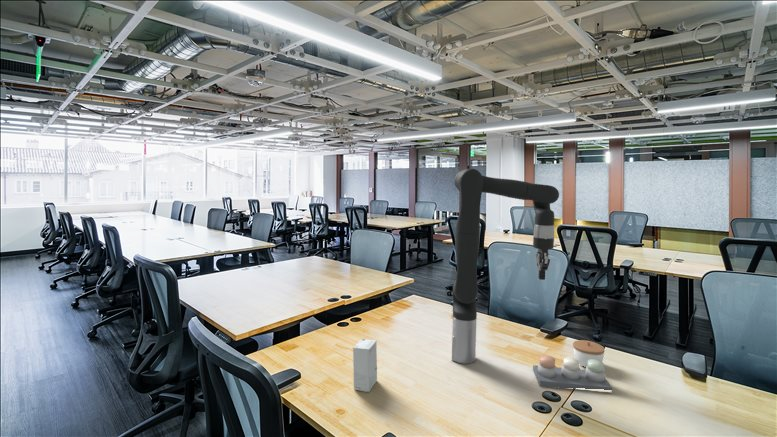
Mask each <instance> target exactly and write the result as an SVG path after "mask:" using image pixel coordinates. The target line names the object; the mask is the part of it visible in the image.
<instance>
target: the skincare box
mask: <svg viewBox="0 0 777 437" xmlns="http://www.w3.org/2000/svg"><path fill="white" fill-rule="evenodd" d="M377 347H378V346H377V340H375V339H373V340H372V339H367V338H366V339H363V338H362V339H361V340H360V341H358V342H357V343H356V345H355V346H354V347H352V351H353V354H352V355H353V361H352V363H353V389H354V390H356V391H361V392H365V393H370V391H371V389H372V388H373V386H374V385H375V384H376V383H377V382H378V361H377V360H378V357H377V353H378V352H377V349H378V348H377Z"/></svg>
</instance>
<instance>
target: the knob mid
mask: <svg viewBox="0 0 777 437" xmlns="http://www.w3.org/2000/svg"><path fill="white" fill-rule="evenodd" d="M562 365H563V367H564V368H566V369H568V370H572V371H577V370H579V368H580V365H579V361H578V360H577V359H575V357H568V356H567V357H564V358H563V362H562Z"/></svg>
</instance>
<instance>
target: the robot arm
mask: <svg viewBox="0 0 777 437" xmlns="http://www.w3.org/2000/svg"><path fill="white" fill-rule="evenodd" d="M453 180H454V181H453V183H454V185H455V188H456V189H457V190H458V191H459V192H460V209H459V213H458V217H457V220H456V223H455V230H454V247H455V248H454V249H455V257H456V258H455V259H456V266H457V267H456V268H457V269H456V278H455V280H454V281H453V284H452V333H451V334H452V338H451V339H452V340H451V361H452V362H456V363H459V364H464V365H467V364H468V365H469V364H472V363H475V361H476V351H477V350H476V349H477V348H476V346H477V344H476V343H477V320H478V319H477V316H478V314H477V312H478V310H477V297H478V296H479V295H478V294H479V285H478V273H477V272H478V270H477V268H478V262H479V260H478V259H479V252H480V241H481V240H480V239H481V236H480V235H481V200H482V193H485V194H493V195H497V196H500V197H501V196H502V197H505V198H511V199H515V200H516V199H517V200H520V201H521V200H522V201H532V204H533V208H534V213H535V215H534V228H533V240H532V247H533V248H534V249H537V251H536V254H535V257H536V266H537V269H538V279H539V280H541V281H544V280H546V271H548V269H549V266H550V263H551V259H550V253H549V250H552V249H554V247H555V246H554V244H555V212H554V211H553V210H552V209H551V204H554V203H555V202H557V201H558V200H559V198H560V191H559V190H558V189H557V187H555V186H553V185H549V184H540V183H532V182H527V181H523V180H517V179H509V178H497V177H490V176H485V175H483V174H482V173H481V172H480V171H479V169H475V168H465V169H462V170H460V171H459V172H457V173H456V175H455V177H454V179H453Z"/></svg>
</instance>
